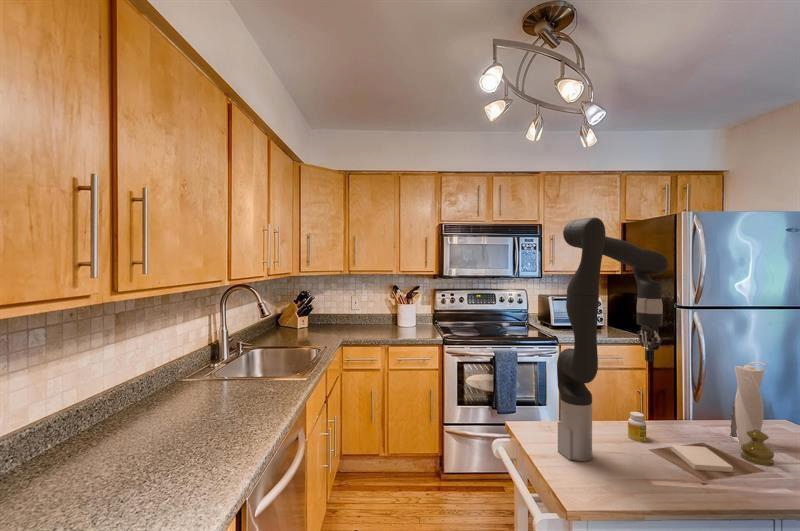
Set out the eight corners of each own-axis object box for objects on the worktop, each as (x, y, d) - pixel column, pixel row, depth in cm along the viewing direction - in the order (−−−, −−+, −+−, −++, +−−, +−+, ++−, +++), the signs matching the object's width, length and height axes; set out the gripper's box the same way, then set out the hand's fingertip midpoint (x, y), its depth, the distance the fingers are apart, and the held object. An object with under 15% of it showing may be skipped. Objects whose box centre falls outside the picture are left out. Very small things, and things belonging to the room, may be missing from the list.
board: (703, 484, 106) (703, 480, 106) (648, 453, 123) (648, 449, 123) (765, 475, 110) (765, 471, 110) (703, 446, 128) (703, 442, 128)
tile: (671, 449, 123) (694, 469, 111) (671, 445, 123) (694, 464, 111) (705, 451, 122) (732, 472, 110) (705, 446, 122) (732, 466, 110)
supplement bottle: (632, 436, 135) (632, 409, 135) (649, 442, 130) (649, 414, 130) (624, 440, 132) (624, 412, 132) (641, 447, 127) (641, 418, 127)
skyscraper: (761, 442, 131) (762, 360, 131) (768, 452, 124) (768, 365, 124) (729, 436, 136) (730, 357, 136) (734, 445, 129) (734, 362, 129)
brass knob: (777, 472, 112) (777, 438, 112) (743, 465, 116) (743, 432, 116) (770, 461, 118) (770, 429, 118) (738, 455, 122) (738, 423, 122)
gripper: (672, 314, 126) (671, 366, 126) (651, 309, 139) (651, 356, 139) (647, 313, 127) (647, 365, 127) (629, 308, 140) (629, 356, 140)
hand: (649, 361), depth 133 cm, fingers closed
